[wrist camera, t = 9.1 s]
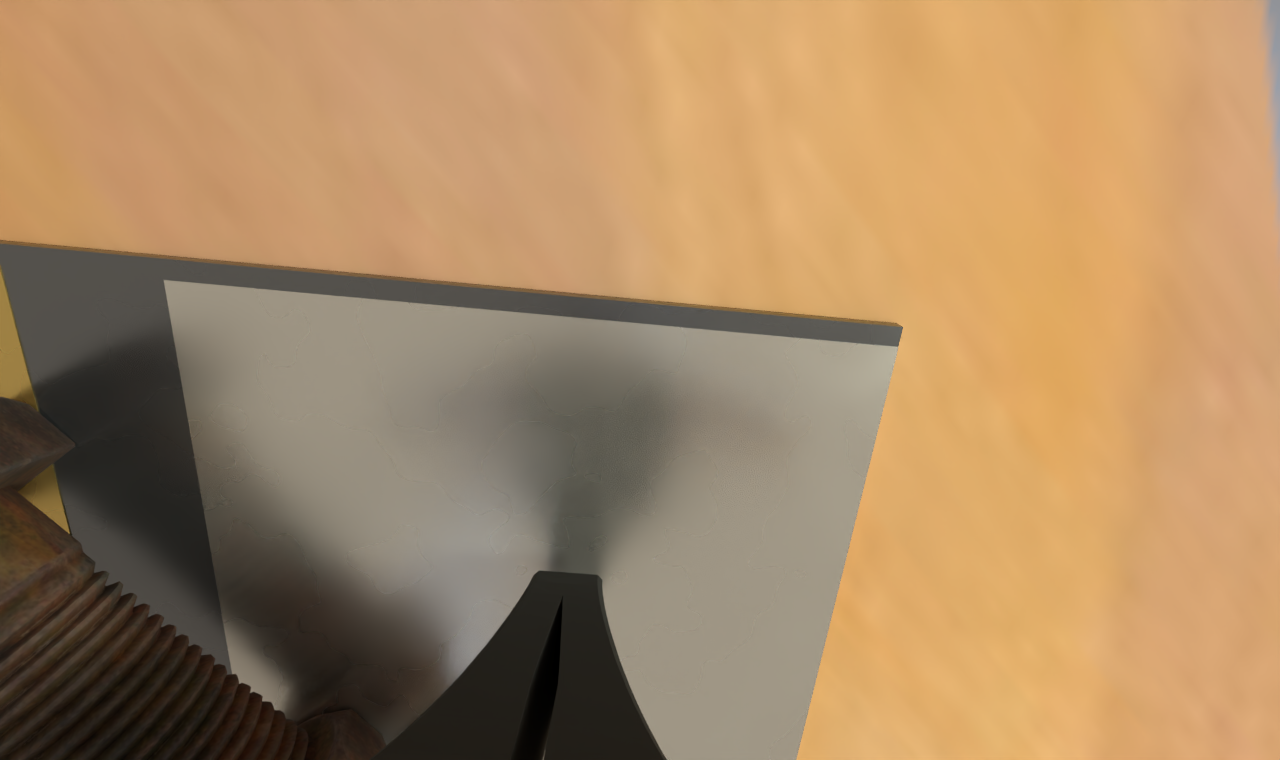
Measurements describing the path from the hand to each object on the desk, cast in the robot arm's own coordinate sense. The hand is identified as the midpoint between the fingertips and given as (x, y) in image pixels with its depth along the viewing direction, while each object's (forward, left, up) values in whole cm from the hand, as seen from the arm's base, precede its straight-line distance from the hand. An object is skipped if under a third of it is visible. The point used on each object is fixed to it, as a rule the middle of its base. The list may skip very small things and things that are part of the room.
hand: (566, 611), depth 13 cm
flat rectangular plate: (0, +8, -1) cm, 8 cm away
